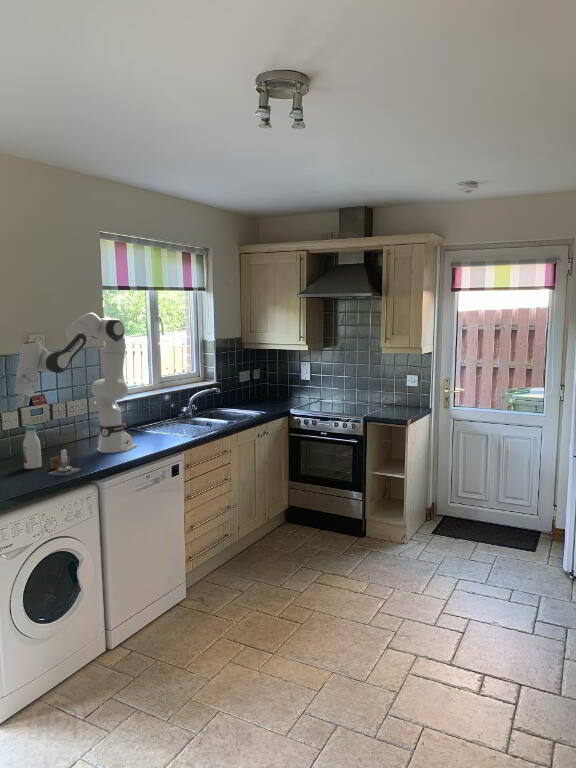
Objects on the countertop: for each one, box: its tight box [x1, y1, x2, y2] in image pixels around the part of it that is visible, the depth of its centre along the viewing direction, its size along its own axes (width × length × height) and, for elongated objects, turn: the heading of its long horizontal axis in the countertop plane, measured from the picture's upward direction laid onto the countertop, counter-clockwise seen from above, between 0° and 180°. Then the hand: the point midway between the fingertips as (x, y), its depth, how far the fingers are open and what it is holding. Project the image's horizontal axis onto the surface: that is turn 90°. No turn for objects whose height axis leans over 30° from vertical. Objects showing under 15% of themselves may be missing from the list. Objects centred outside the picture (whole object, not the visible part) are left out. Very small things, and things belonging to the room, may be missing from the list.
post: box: [48, 449, 82, 477], centre depth 263 cm, size 10×10×10 cm
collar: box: [49, 455, 71, 470], centre depth 273 cm, size 6×6×5 cm
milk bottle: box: [22, 425, 43, 470], centre depth 275 cm, size 8×8×20 cm
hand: (22, 405), depth 264 cm, fingers open, 8 cm apart
